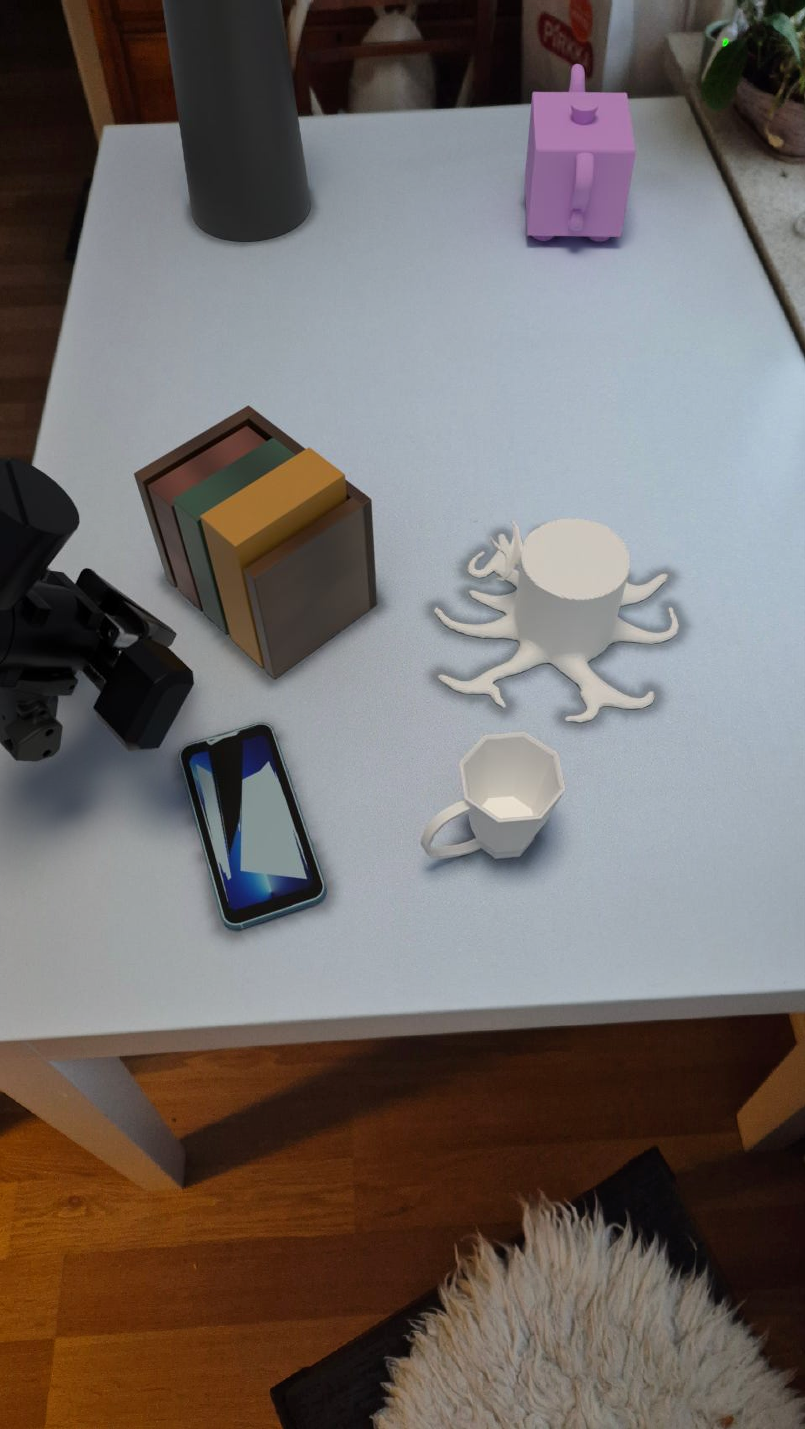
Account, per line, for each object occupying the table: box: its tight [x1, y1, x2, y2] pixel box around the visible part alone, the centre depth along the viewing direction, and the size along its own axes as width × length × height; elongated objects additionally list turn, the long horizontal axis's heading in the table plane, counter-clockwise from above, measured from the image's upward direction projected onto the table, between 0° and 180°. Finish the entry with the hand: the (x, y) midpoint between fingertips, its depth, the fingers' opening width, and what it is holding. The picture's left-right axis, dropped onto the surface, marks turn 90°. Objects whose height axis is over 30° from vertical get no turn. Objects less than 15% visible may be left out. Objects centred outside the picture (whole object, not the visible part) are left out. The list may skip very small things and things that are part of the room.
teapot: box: [524, 63, 637, 243], centre depth 109 cm, size 20×10×12 cm, turn 177°
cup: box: [420, 731, 566, 860], centre depth 68 cm, size 7×10×8 cm
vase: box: [161, 0, 311, 242], centre depth 104 cm, size 14×14×29 cm
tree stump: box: [433, 517, 680, 723], centre depth 78 cm, size 20×19×8 cm
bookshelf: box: [133, 405, 378, 680], centre depth 79 cm, size 11×14×13 cm
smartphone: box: [177, 722, 327, 930], centre depth 72 cm, size 7×1×15 cm
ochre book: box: [200, 446, 347, 668], centre depth 77 cm, size 10×4×14 cm, turn 133°
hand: (171, 637), depth 73 cm, fingers closed
